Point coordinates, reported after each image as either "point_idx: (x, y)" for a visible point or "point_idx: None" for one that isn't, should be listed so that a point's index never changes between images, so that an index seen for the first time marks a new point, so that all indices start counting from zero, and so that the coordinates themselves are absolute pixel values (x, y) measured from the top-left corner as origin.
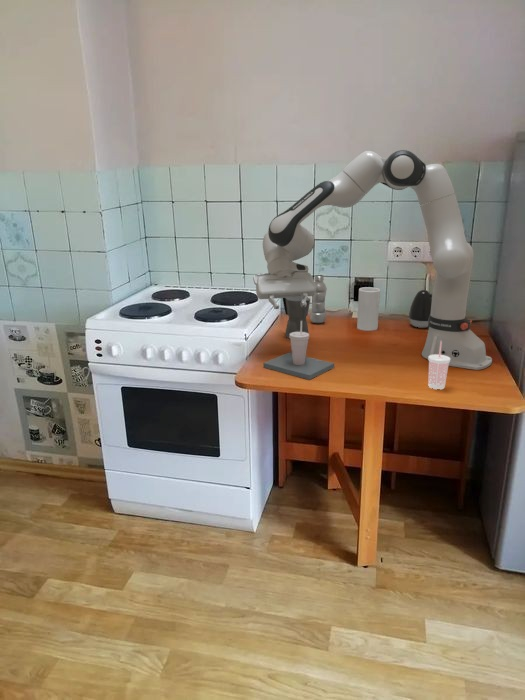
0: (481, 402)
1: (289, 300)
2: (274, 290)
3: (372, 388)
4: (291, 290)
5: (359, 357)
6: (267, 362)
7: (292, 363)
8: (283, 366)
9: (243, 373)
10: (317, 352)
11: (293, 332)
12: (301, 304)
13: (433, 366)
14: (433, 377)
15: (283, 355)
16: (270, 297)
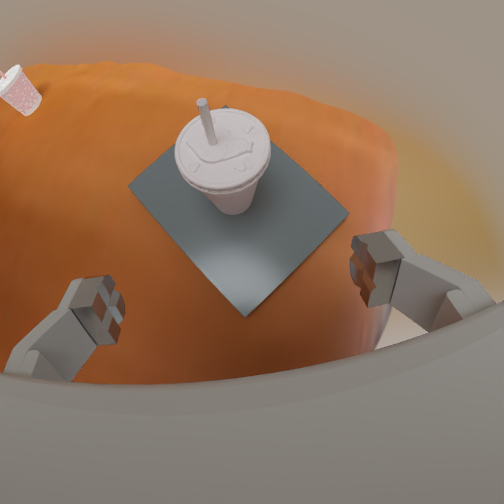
0: (33, 70)
1: None
2: (494, 344)
3: (116, 81)
4: (156, 410)
5: (50, 271)
6: (337, 216)
7: (255, 195)
8: (288, 172)
9: (396, 180)
10: (141, 344)
11: (243, 177)
12: (112, 314)
13: (24, 74)
14: (32, 85)
15: (273, 283)
16: (476, 285)
